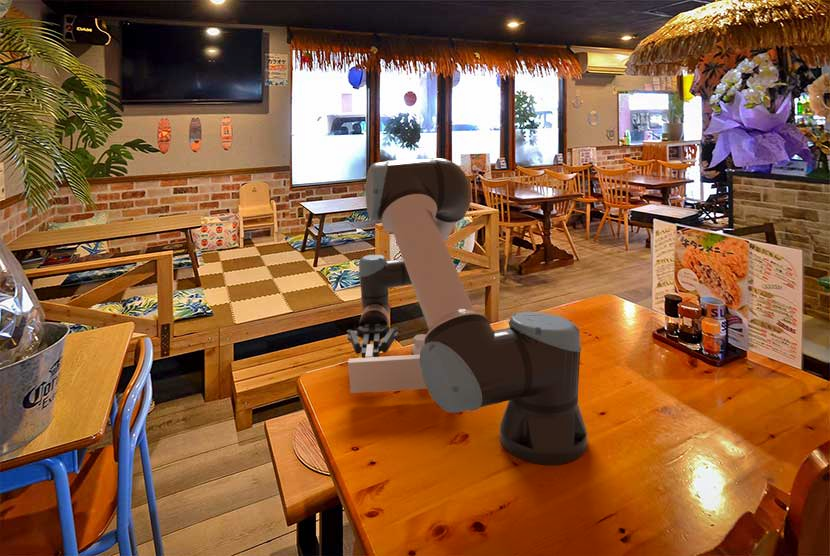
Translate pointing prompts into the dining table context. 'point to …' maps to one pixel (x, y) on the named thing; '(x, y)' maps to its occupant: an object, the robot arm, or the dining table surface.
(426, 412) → the dining table surface
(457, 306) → the robot arm
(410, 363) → the swing arm
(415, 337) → the supplement bottle
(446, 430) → the dining table surface
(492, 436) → the dining table surface
